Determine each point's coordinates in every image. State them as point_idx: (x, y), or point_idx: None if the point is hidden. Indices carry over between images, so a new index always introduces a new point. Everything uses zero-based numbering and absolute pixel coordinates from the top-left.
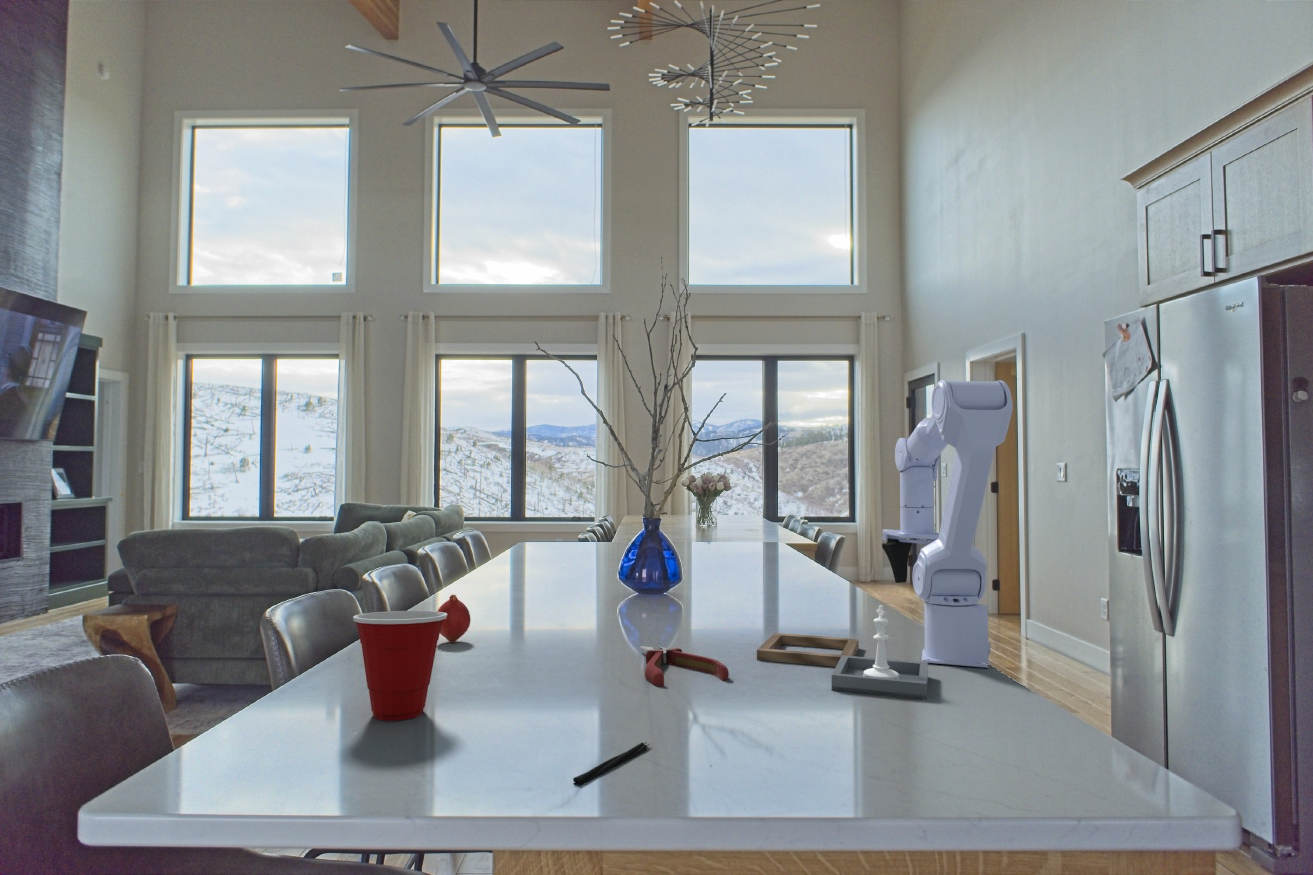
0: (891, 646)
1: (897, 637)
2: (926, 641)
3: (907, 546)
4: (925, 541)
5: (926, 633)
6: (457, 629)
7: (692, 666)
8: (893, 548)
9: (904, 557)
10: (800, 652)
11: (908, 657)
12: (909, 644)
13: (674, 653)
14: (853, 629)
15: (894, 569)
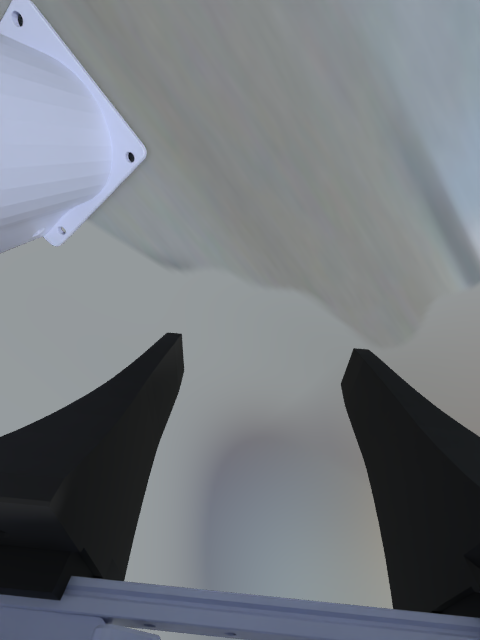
0: (247, 135)
1: (309, 253)
2: (26, 46)
3: (404, 580)
4: (156, 621)
5: (4, 37)
6: None
7: None
8: (469, 508)
9: (386, 487)
10: None
11: (113, 38)
12: (238, 209)
13: None
14: (454, 236)
15: (391, 383)
